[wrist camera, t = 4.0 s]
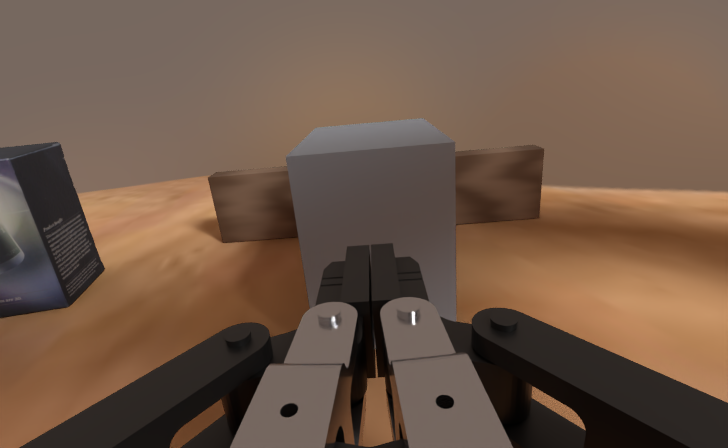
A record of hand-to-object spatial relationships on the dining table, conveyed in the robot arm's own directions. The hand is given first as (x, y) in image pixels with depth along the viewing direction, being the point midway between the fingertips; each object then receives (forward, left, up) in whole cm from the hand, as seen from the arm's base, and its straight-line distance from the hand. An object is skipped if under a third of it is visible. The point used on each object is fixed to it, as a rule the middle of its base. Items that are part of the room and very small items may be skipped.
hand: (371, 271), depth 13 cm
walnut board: (-4, -21, -7) cm, 23 cm away
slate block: (-2, -9, -7) cm, 12 cm away
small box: (+24, -17, -7) cm, 30 cm away
